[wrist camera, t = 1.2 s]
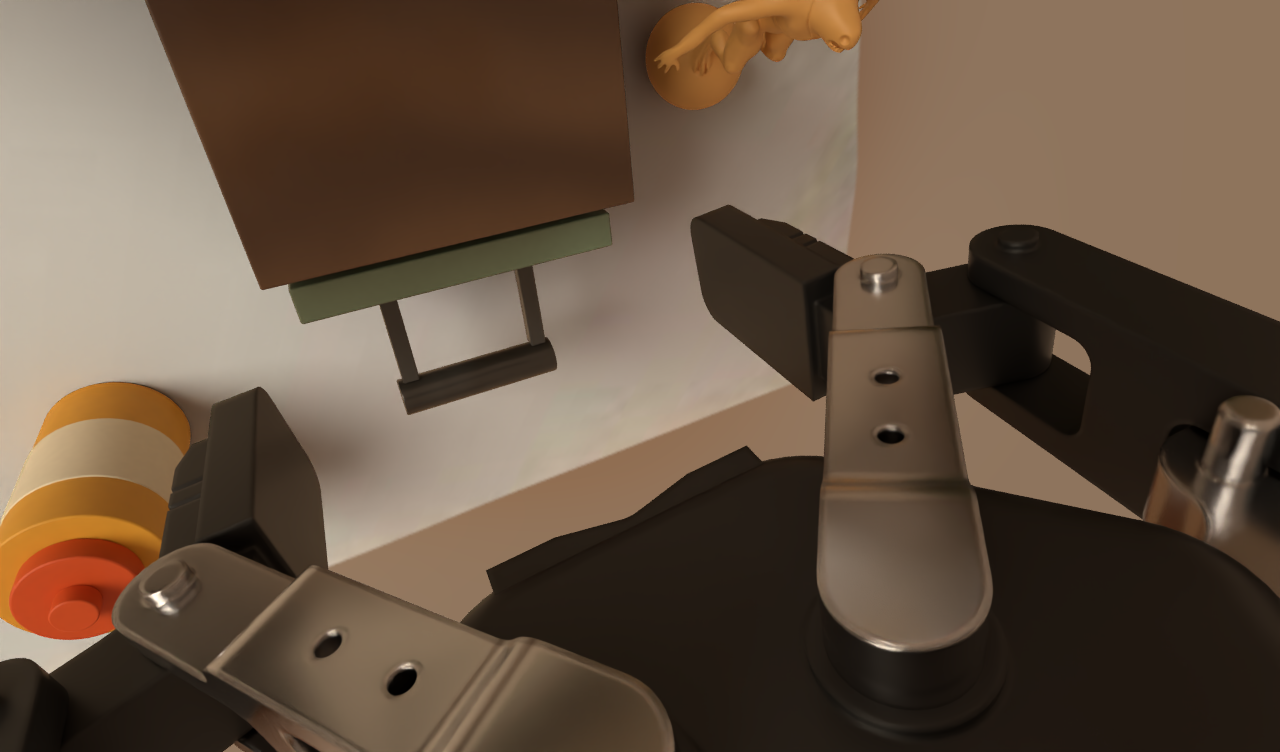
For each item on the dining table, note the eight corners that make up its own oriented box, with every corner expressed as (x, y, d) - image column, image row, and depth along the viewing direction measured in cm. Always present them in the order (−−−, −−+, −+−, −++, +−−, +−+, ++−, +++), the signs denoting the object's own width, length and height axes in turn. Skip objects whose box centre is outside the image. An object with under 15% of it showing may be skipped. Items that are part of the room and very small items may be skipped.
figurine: (591, 123, 31) (741, 200, 22) (563, -37, 28) (726, -27, 18) (757, 78, 33) (956, 129, 24) (749, -75, 30) (977, -83, 21)
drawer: (567, 312, 34) (627, 381, 29) (336, 377, 31) (355, 468, 25) (494, -175, 24) (564, -208, 19) (141, -156, 21) (106, -190, 15)
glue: (79, 502, 29) (20, 704, 22) (13, 403, 27) (-82, 592, 19) (211, 462, 31) (201, 637, 23) (161, 364, 28) (130, 525, 21)
